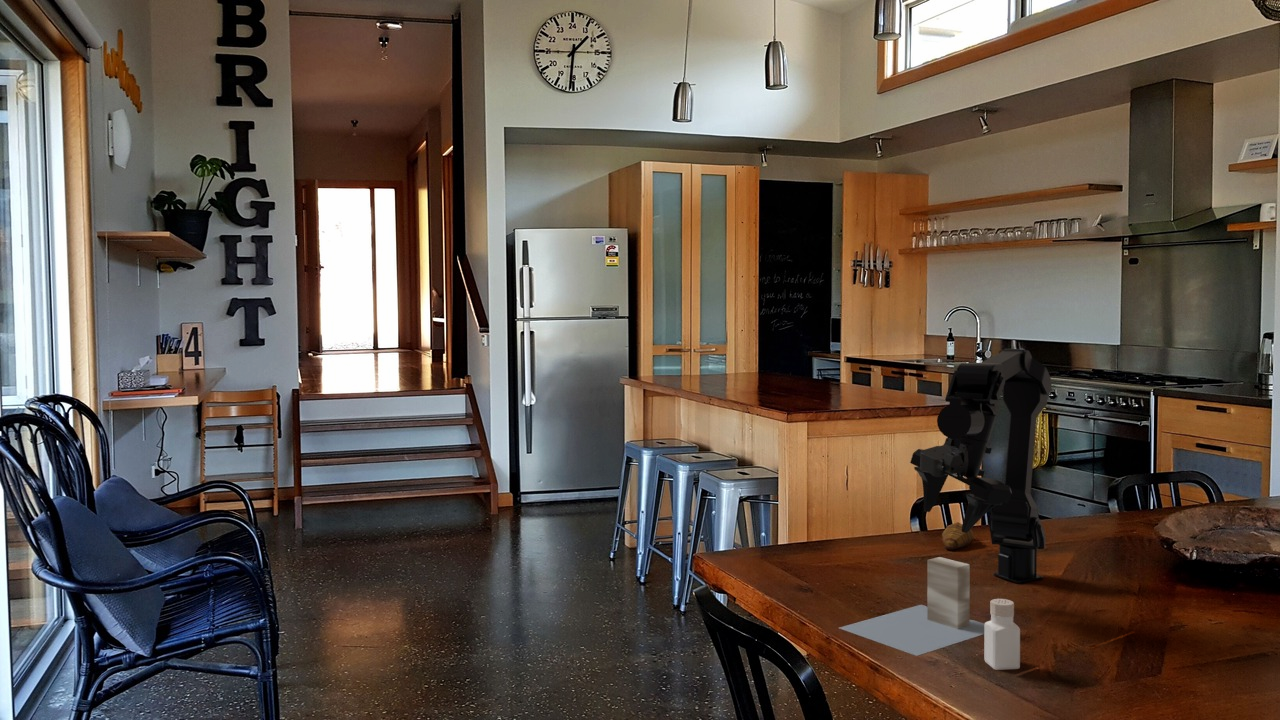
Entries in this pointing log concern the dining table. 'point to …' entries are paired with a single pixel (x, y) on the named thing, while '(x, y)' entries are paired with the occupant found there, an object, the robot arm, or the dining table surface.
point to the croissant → (956, 536)
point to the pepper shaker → (1002, 637)
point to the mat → (913, 631)
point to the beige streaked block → (948, 592)
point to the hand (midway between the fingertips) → (945, 521)
